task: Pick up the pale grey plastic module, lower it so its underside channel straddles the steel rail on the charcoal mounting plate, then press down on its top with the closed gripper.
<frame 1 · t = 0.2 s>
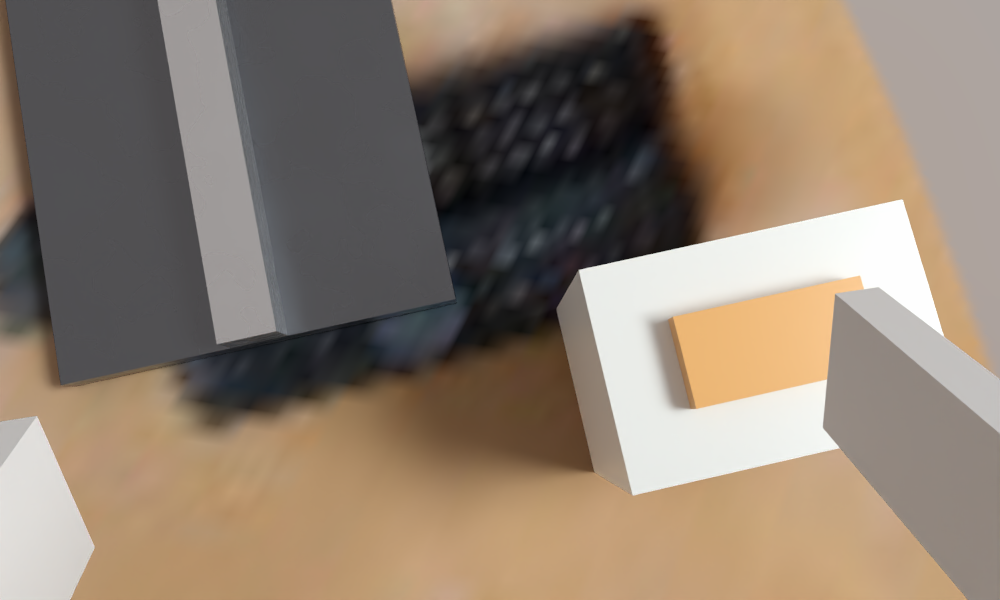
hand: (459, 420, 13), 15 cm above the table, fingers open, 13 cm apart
mounting plate: (230, 137, 30), on the table
module: (695, 362, 29), on the table
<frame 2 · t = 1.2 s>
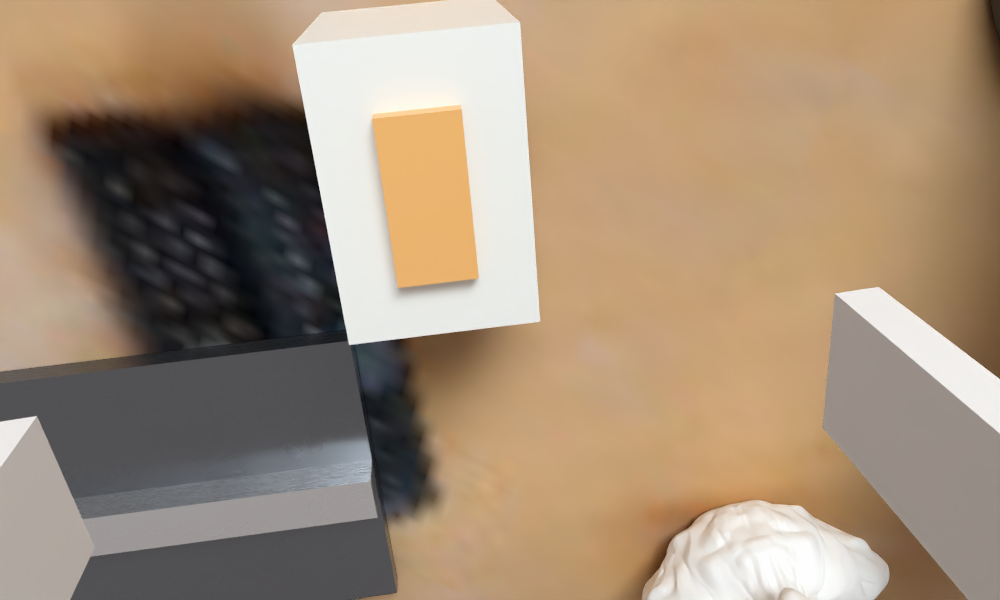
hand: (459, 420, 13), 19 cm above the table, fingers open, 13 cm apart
bust: (728, 526, 41), on the table
mounting plate: (198, 487, 36), on the table
module: (422, 130, 30), on the table
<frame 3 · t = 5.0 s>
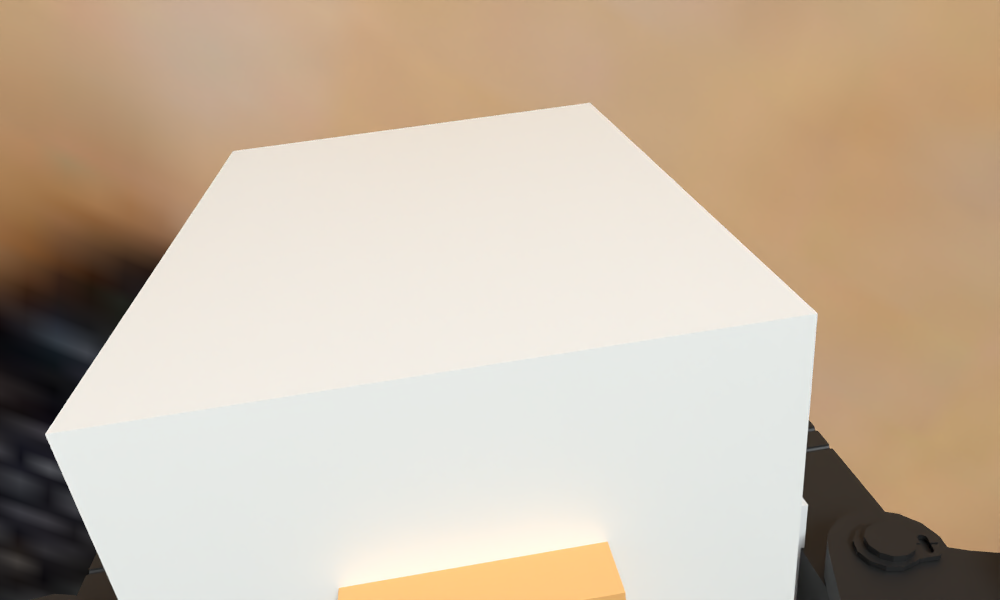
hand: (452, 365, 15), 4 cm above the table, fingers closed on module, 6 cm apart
module: (449, 357, 15), point 3 cm above the table, touching gripper
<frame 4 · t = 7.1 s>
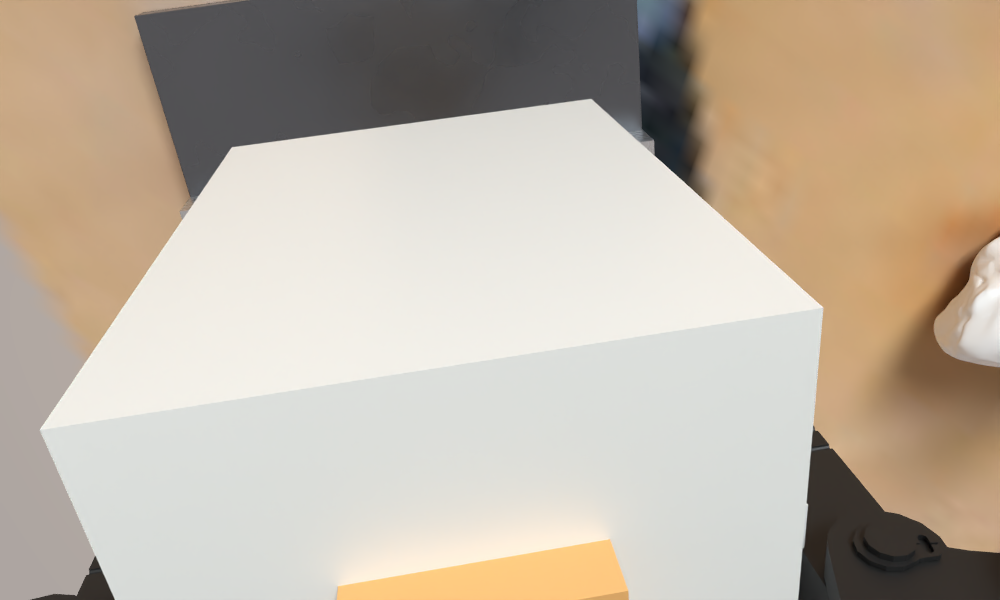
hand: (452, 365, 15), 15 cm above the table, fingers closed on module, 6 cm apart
mounting plate: (423, 181, 29), on the table
module: (450, 355, 15), point 15 cm above the table, touching gripper
when the fingers open (3 cm above the table, at t = 9.4 s): module stays where it is, point 2 cm above the table.
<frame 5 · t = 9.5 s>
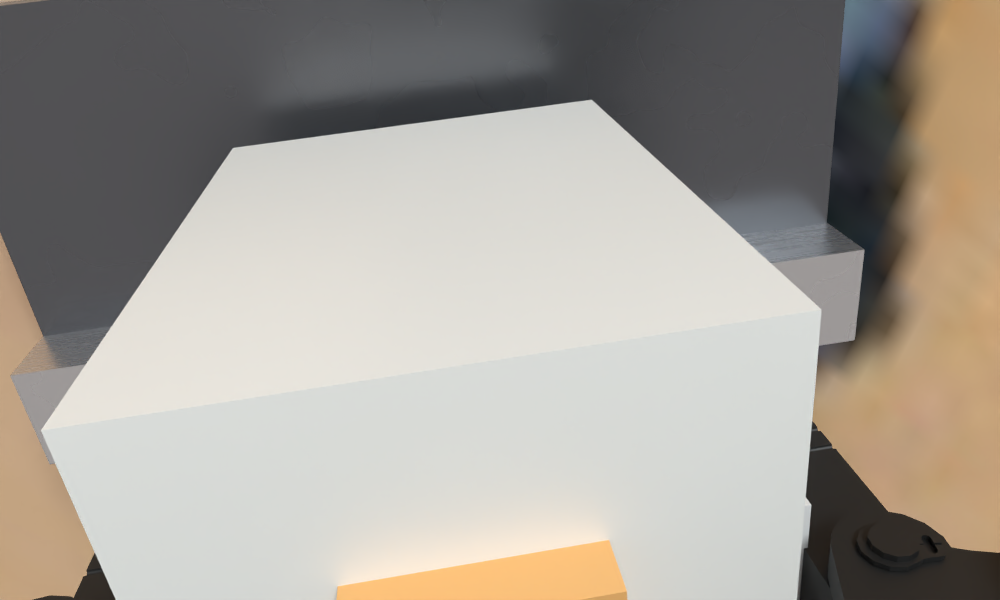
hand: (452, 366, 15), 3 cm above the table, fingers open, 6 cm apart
mounting plate: (449, 300, 17), on the table
module: (450, 355, 15), point 2 cm above the table
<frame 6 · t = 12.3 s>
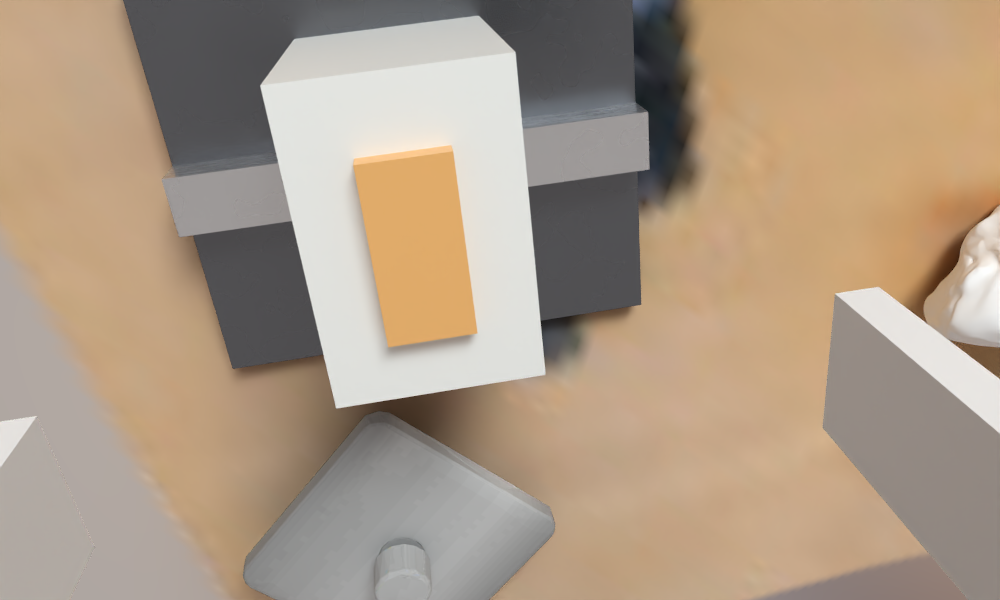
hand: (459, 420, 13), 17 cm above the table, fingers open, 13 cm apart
mounting plate: (412, 154, 29), on the table
module: (408, 161, 28), point 1 cm above the table, touching mounting plate
light switch: (400, 506, 36), on the table
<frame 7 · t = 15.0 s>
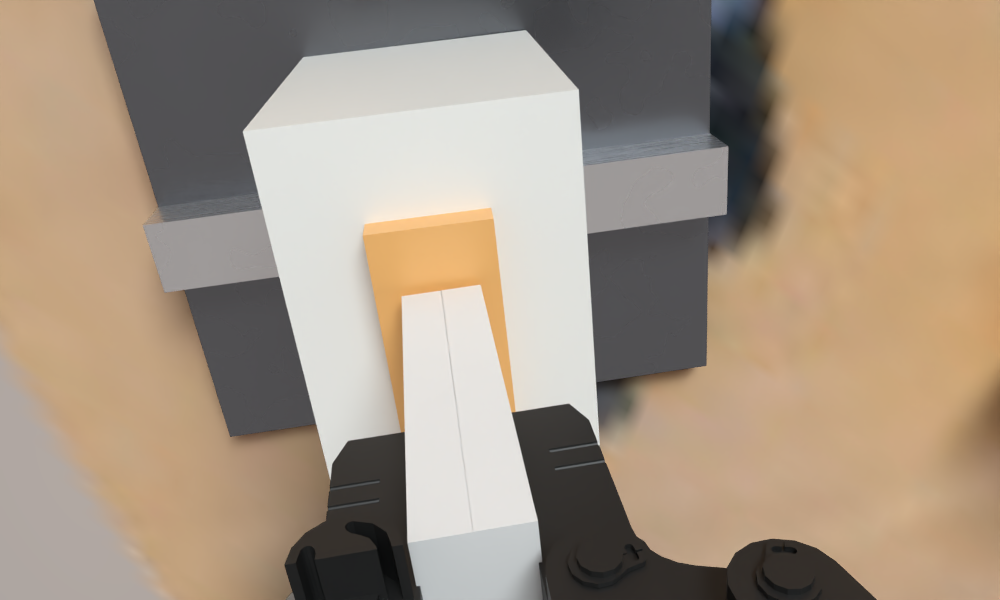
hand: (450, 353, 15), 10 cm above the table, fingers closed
mounting plate: (442, 191, 24), on the table
module: (438, 202, 23), point 1 cm above the table, touching gripper, mounting plate
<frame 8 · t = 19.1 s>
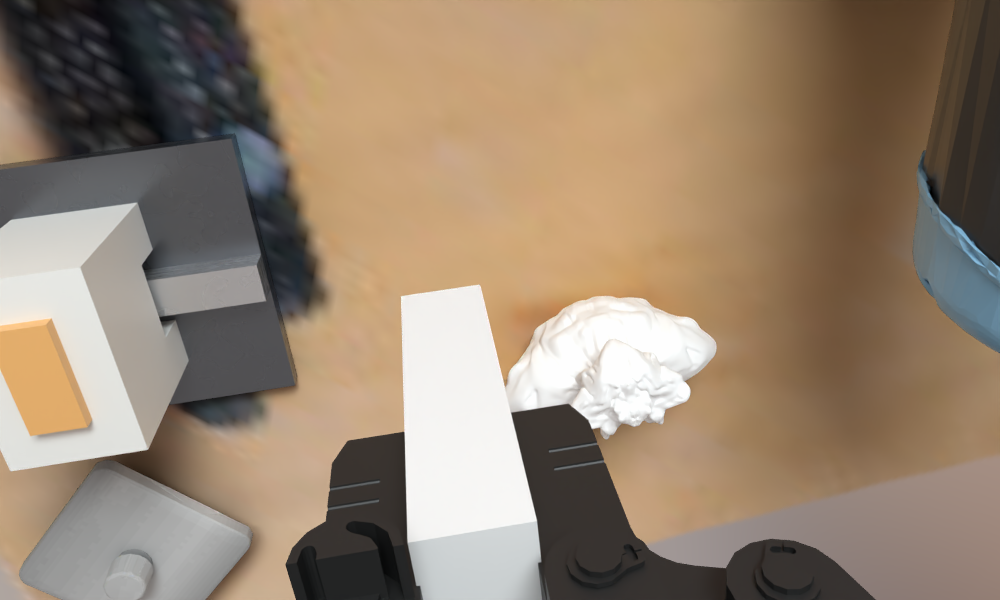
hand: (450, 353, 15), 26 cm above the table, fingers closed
bust: (589, 328, 46), on the table
mounting plate: (114, 286, 41), on the table
module: (104, 294, 41), point 1 cm above the table, touching mounting plate
light switch: (149, 525, 49), on the table
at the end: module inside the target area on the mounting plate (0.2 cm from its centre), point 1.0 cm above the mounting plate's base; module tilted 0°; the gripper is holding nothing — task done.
